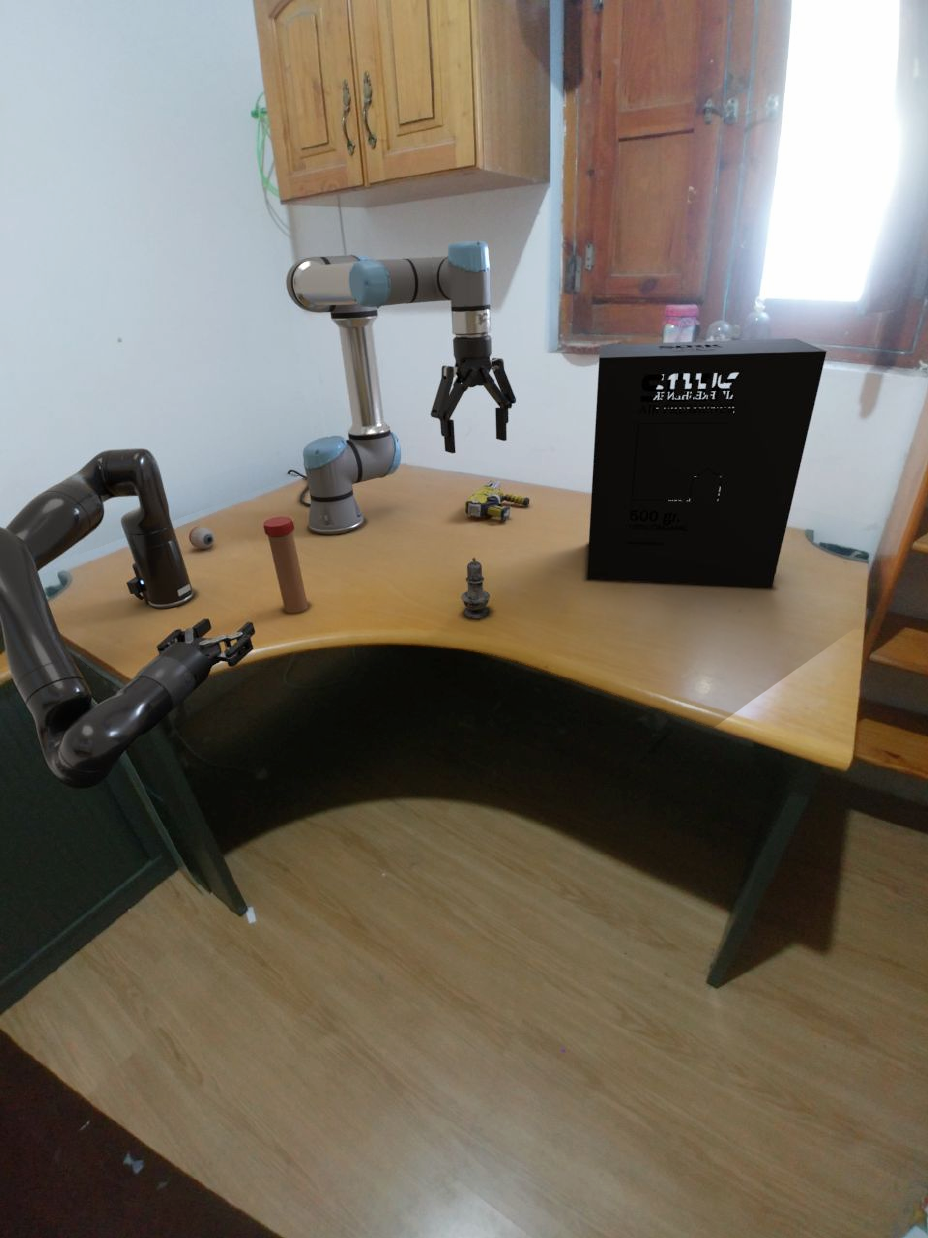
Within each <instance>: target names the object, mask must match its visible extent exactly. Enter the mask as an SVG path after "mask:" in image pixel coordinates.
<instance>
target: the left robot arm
mask: <svg viewBox="0 0 928 1238" xmlns="http://www.w3.org/2000/svg"><path fill="white" fill-rule="evenodd" d="M128 497H138V502H139V507H136V508H134V509H132V510H130V511H128V512H125V514H123V515H122V516H121V518H120V524H121V527H122V530H123V533H124V536H125V538H126V542H127V544H128V546H129V550H130V553H131V555H132V558H133V561H134V562H133V564H132V566H131V567H132V569H133V572H134V575H135V576H134V577H132V578H131V579H130V580H128V581H126V586H127V588H128V591H129V594H130V595H134V596H135V597H136V598H137V599H138V600H139V601H140V602H141V601H144V603H145V605H149V606H150V607H151V608H154V609H170V608H175V607H178V606H181V605H183V604H185V603H188V602H189V601H190V600H192V599H193V597H194V596H195V592H194V591H195V590H194V588H193V586H192V583H191V580H190V577H189V573H188V570H187V567H186V564H185V560H184V558H183V554H182V551H181V547H180V544H179V541H178V538H177V535H176V532H175V528H174V525H173V522H172V519H171V515H170V507H169V506H170V505H169V501H168V498H167V494H166V490H165V487H164V483H163V477H162V473H161V470H160V467H159V465H158V461H157V459H156V458H155V456H154V454H153V453H152V452H151V450H148V449H147V448H142V447H141V448H140V447H137V448H136V447H135V448H116V449H106V450H103V451H100V452H99V453H97V454H96V455H94V456H93V457H92V458H91V459H90V460H88V462H87V463H86V464H85V465H83V466H82V467H81V468H80V469H79V470H78V471H77V472H74V473H73V474H72V475H70V476H68V477H66V478H65V479H63V480H62V481H60V482H58V483H57V484H54V485H52V486H51V487H49V488H47V489H46V490H44V491H42V492H41V493H39V494H37V495H36V496H34V497H33V498H32V499H31V500H30V501H29V502H27V504H25V506H23V508H22V509H20V511H19V512H18V513H17V514H16V515H15V516H14V517H13V519H11V521H10V522H9V523H8V525H6V526H5V528H4V527H2V526H0V626H1V632H2V637H3V638H2V639H3V644H4V651H5V656H6V657H5V658H6V661H7V667H8V670H9V672H10V675H11V678H12V680H13V682H14V684H15V686H16V689H17V690H18V693H19V694H20V696H21V698H22V700H23V701H24V704H25V705H26V708H27V709H28V710H29V712H30V714H31V715H32V717H33V720H34V724H35V728H36V733H37V736H38V740H39V743H40V747H41V750H42V753H43V756H44V759H45V762H46V764H47V766H48V769H49V770H50V772H51V774H53V776H54V777H55V778H56V779H57V780H58V781H59V782H60V783H61V784H63V785H64V786H66V787H69V788H72V789H76V790H84V789H85V790H86V789H90V788H93V787H95V786H97V785H100V784H101V783H102V782H103V781H104V780H105V779H106V778H107V777H108V776H109V774H111V772H112V770H113V768H114V767H115V765H116V764H117V762H118V760H120V757H121V756H122V755H123V754H124V753H125V752H126V750H127V749H128V748H129V746H131V745H132V743H134V741H135V740H137V738H139V737H141V736H144V735H145V734H147V733H149V732H150V731H151V730H153V729H154V728H155V727H156V726H157V725H158V724H159V723H160V722H161V721H163V719H164V718H165V717H166V716H167V715H168V714H169V713H171V712H172V711H173V710H174V709H176V708H177V707H178V706H180V705H181V704H182V703H183V702H185V700H186V699H187V698H188V697H190V696H191V695H192V694H193V693H194V692H195V691H196V689H198V688H199V687H200V686H201V685H202V684H203V683H204V682H205V681H206V680H207V679H208V678H209V676H210V673H211V670H212V668H213V667H214V666H216V665H217V664H219V663H221V662H223V663H227V666H228V667H230V668H231V667H232V668H233V667H235V666H237V665H238V663H240V662H241V661H242V660H243V659H244V658H245V657H246V656H247V655H248V654H250V652H252V651H253V650H254V645H253V641H252V637H253V636H254V635H255V634H256V628H255V625H254V622H253V621H247V622H245V624H243V625H242V626H241V627H240V628H239V629H238V630H237V631H236V632H234V633H232V634H229V635H228V634H222V635H219V636H216V637H211V638H207V637H204V636H205V635H207V634H208V632H210V631H211V630H212V624H211V621H210V619H209V618H205V617H204V618H202V619H201V620H200V621H198V622H197V623H196V624H195V625H193V626H192V627H188V628H186V629H185V630H182V629H181V628H177V629H175V630H173V631H172V632H171V633H170V634H168V636H166V637H165V638H164V639H163V640H162V641H161V642H159V644H158V645H156V649H157V652H158V655H156V656H155V657H154V658H153V659H152V660H151V661H149V662H148V663H147V664H146V665H144V666H143V667H142V668H141V669H140V670H139V671H138V672H137V673H136V675H135V676H134V677H133V678H131V679H130V680H129V681H127V682H126V683H125V684H124V685H123V686H122V687H120V688H119V689H118V690H117V691H116V692H115V693H114V694H113V695H112V696H111V697H108V698H106V699H105V700H103V701H101V702H99V703H98V704H95V705H94V706H92V700H93V698H92V697H93V696H92V691H91V689H90V687H89V685H88V683H87V681H86V680H85V677H84V676H83V674H82V672H81V671H80V669H79V667H78V666H77V664H76V662H75V660H74V658H73V656H72V655H71V653H70V651H69V649H68V647H67V645H66V643H65V641H64V639H63V637H62V635H61V632H60V630H59V628H58V625H57V623H56V620H55V617H54V615H53V612H52V610H51V607H50V604H49V601H48V598H47V595H46V592H45V589H44V587H43V584H42V580H41V577H40V574H39V572H40V571H41V569H43V568H44V567H46V566H47V565H48V564H50V563H51V562H53V561H55V560H56V559H58V558H59V557H60V556H62V555H63V554H65V553H66V552H68V551H69V550H70V549H72V548H73V547H74V546H75V545H77V544H79V542H81V541H83V540H84V539H86V538H87V537H88V536H89V535H90V534H91V533H93V532H94V531H95V530H96V529H98V528H99V526H100V525H101V523H103V520H104V517H105V504H104V503H105V502H107V501H109V500H111V499H114V498H128ZM233 641H236V642H234V644H232V643H231V642H233ZM221 643H223V644H224V647H225V649H224V650H223V649H222V646H221ZM222 650H223V651H222ZM91 706H92V707H91Z"/></svg>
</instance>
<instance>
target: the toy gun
mask: <svg viewBox="0 0 928 1238" xmlns="http://www.w3.org/2000/svg"><path fill="white" fill-rule="evenodd" d="M530 500H531V499H530V497H527V496H526V497H525V496H524V497H523V496H521V495H520V496H519V495H517V494H516V495H514V494H511V493H506V494H505V495H504V493H503V491H501V482H500V481H499V480H496V481H495V480H490V481H489V482H488V483H487V484H485V485H483V487H482V488H480V489H479V490H478V491H477V492H476V493H474V494H473V495H472V497H470V498H469V499H468V500H467V501H465V504H464V513H465V515H466V516H469V517H470V518H473V519H476V518H485V517H489V516H492V517H497V518H500V521H501V522H503V521H505V520H507V519H509V518H510V514H511V513H510V512H511V506H510V505H506V506H504V505H503V504H502V503H503V502H506V503H511V504H513V503H514V504H515V505H516V504H517V505H521V506H524V507H528V506H529V505H530Z"/></svg>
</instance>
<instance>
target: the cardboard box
mask: <svg viewBox="0 0 928 1238" xmlns="http://www.w3.org/2000/svg"><path fill="white" fill-rule="evenodd" d="M827 352H828V351H827V350H824V349H822V348H820V347H818V346H815V345H813V344H811V343H808V342H806V341H802V340H801V339H799V338H768V339H766V338H765V339H737V340H736V339H735V340H709V341H708V340H707V341H705V340H703V341H675V342H672V341H671V342H648V343H647V342H646V343H645V342H644V343H643V342H642V343H616V344H615V343H614V344H612V343H611V344H600V348H599V355H598V356H599V358H598V370H597V371H598V372H597V390H596V391H597V392H596V409H595V410H596V411H595V426H594V445H593V459H592V460H593V461H592V462H593V463H592V479H591V497H590V515H589V532H588V533H589V535H588V547H587V548H588V549H587V568H586V580H588V581H611V582H635V583H655V584H657V583H658V584H675V585H676V584H679V585H698V586H699V585H703V586H725V587H743V588H744V587H745V588H746V587H747V588H768V589H773V586H774V582H775V578H776V573H777V569H778V565H779V560H780V555H781V550H782V548H783V543H784V540H785V539H784V538H785V534H786V530H787V525H788V521H789V517H790V513H791V512H790V511H791V509H792V504H793V499H794V496H795V490H796V486H797V483H798V477H799V474H800V469H801V465H802V461H803V456H804V451H805V447H806V444H807V443H806V442H807V439H808V434H809V429H810V425H811V421H812V416H813V412H814V408H815V404H816V400H817V395H818V391H819V387H820V382H821V378H822V373H823V368H824V365H825V360H826V356H827ZM685 374H689V378H688V385H690V388H686V384H687V379H685V378H684V375H685ZM699 374H700V379H699V378H697V375H699ZM715 374H716V380H715V384H714V386H713V383H714V378H715ZM731 374H736V376H735V378H729V377H730V376H731ZM672 375H677V378H676V379H675V380H674V384H673V385H674V387H673V388H671V385H672V379H671V378H670V377H671V376H672ZM719 379H720V381H719ZM700 384H701V385H705V387H704V388H699V385H700ZM719 384H720V385H724V384H729V387H720V386H719ZM659 386H661V387H662V388H658V387H659Z"/></svg>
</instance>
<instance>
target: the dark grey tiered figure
mask: <svg viewBox="0 0 928 1238" xmlns="http://www.w3.org/2000/svg"><path fill="white" fill-rule="evenodd" d="M471 560H472V561H471ZM471 560H470V562H468V563H467V565H466V574H467V575H466V576H467V577H466V578H465V582H466V583H467V589H466V591H464V592H463V593H462V594H461V596H460V599H461V600H462V602H463V605H464V606H465V608H464V609H463V615H464V616H465V617H467V618H469V619H481V618H485V617H487V616H488V615H489V614H490V609H489V608H488V607H487V606H488V604H489V602H490V599H491V594H490V592H489V591H487V590H484V581H485V577H484V576H483V566H482V563H481V562H480V561H477V560H476V557H473V558H472V559H471Z"/></svg>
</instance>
